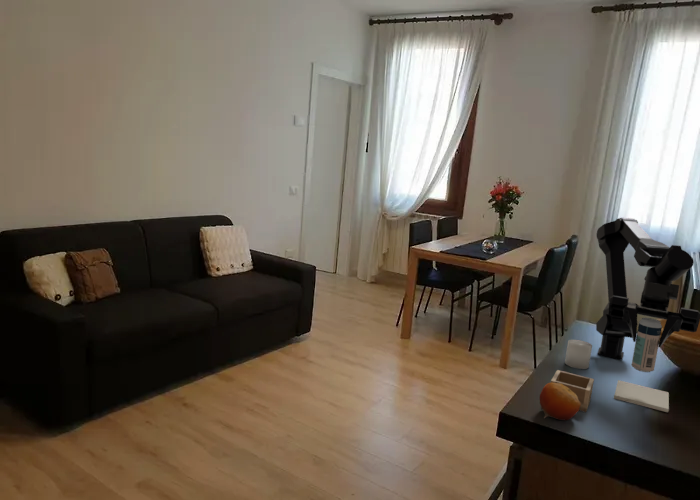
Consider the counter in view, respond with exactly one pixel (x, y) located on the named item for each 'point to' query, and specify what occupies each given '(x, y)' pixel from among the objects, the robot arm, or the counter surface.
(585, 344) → the white rounded cylinder
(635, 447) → the counter surface
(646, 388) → the plate
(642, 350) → the beer can
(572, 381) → the oak box
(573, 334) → the counter surface
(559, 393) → the fruit
